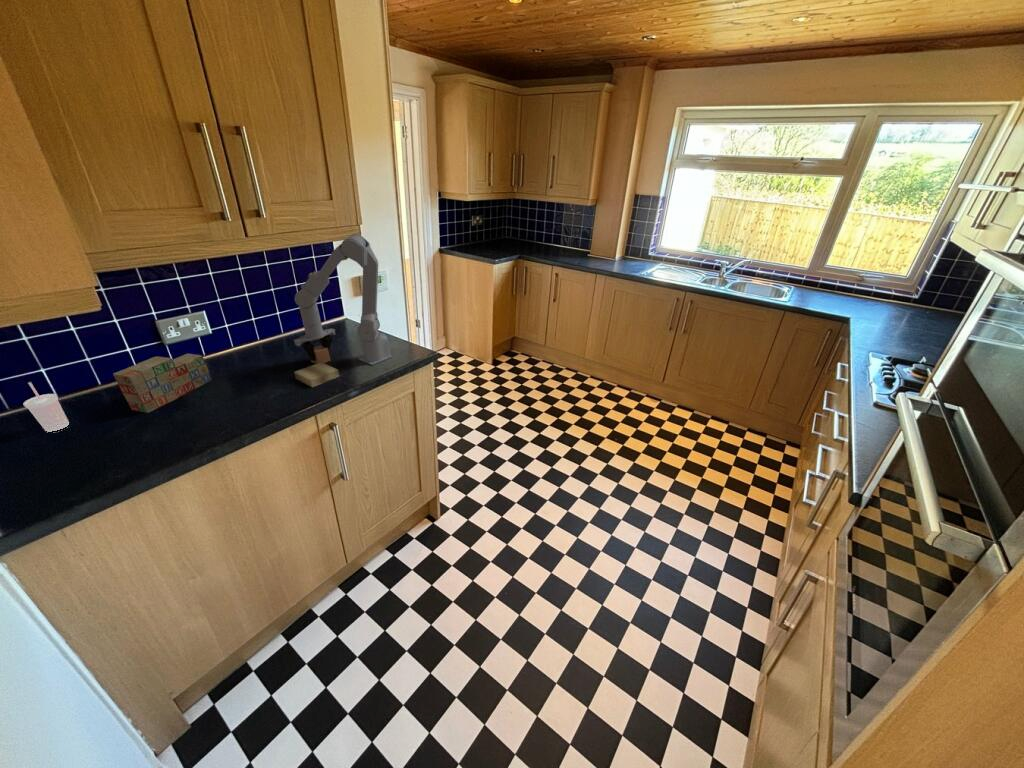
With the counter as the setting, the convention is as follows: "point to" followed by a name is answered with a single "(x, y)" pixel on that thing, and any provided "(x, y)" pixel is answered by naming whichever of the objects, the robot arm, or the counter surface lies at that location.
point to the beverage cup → (47, 411)
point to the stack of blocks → (161, 380)
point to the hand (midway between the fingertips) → (320, 357)
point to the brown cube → (321, 354)
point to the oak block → (316, 374)
